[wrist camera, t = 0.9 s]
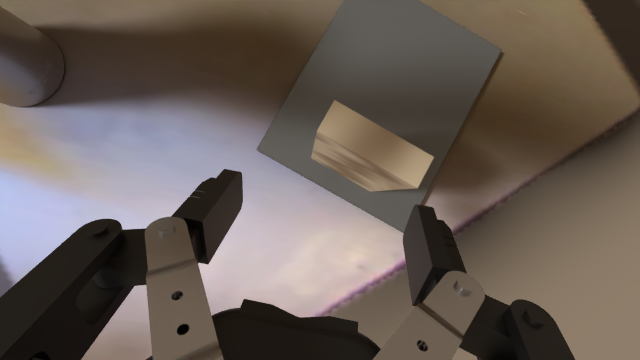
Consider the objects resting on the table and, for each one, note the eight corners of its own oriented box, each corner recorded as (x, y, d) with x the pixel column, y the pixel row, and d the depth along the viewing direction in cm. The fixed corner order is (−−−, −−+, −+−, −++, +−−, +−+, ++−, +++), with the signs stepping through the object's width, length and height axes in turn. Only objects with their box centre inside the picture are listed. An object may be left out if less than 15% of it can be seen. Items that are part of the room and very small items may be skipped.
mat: (257, 150, 34) (256, 149, 33) (361, -26, 36) (363, -33, 35) (402, 232, 35) (405, 233, 34) (496, 53, 37) (502, 49, 36)
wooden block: (311, 158, 34) (316, 130, 20) (321, 139, 34) (334, 99, 20) (370, 191, 34) (417, 188, 20) (380, 172, 34) (434, 156, 20)
